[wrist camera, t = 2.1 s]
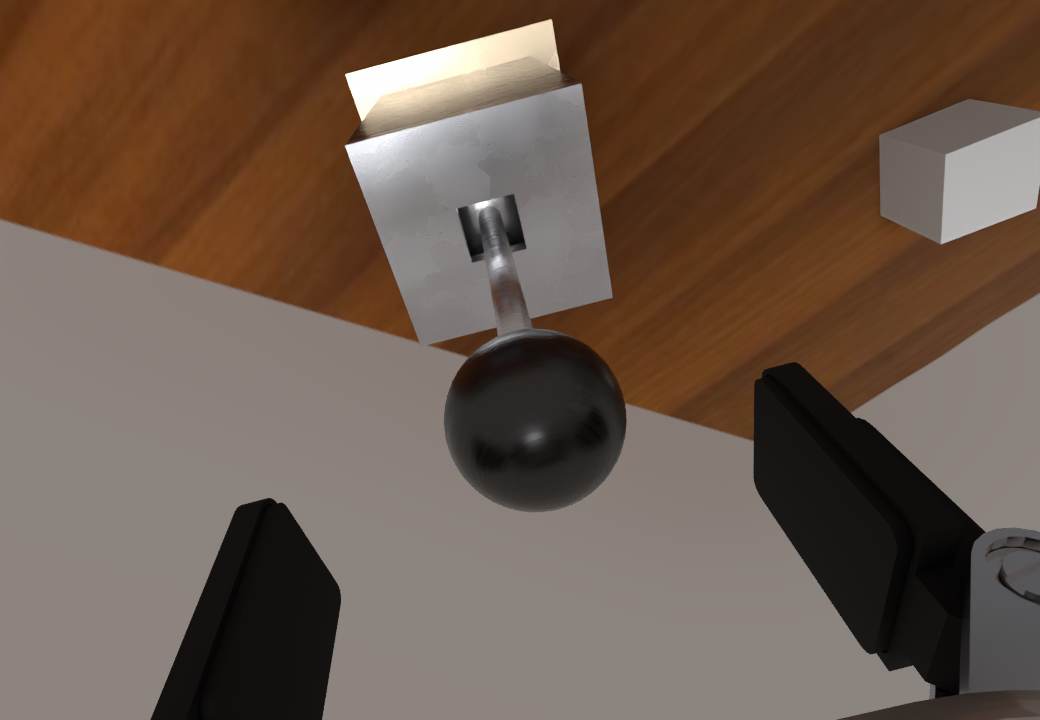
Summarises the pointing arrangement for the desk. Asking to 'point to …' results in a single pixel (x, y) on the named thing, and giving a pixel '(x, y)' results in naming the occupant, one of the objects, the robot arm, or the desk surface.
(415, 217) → the grey slotted box
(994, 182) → the white cube
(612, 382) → the ball knob lever
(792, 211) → the desk surface
